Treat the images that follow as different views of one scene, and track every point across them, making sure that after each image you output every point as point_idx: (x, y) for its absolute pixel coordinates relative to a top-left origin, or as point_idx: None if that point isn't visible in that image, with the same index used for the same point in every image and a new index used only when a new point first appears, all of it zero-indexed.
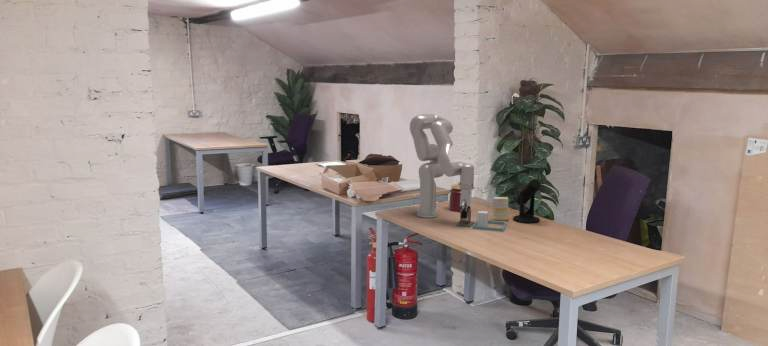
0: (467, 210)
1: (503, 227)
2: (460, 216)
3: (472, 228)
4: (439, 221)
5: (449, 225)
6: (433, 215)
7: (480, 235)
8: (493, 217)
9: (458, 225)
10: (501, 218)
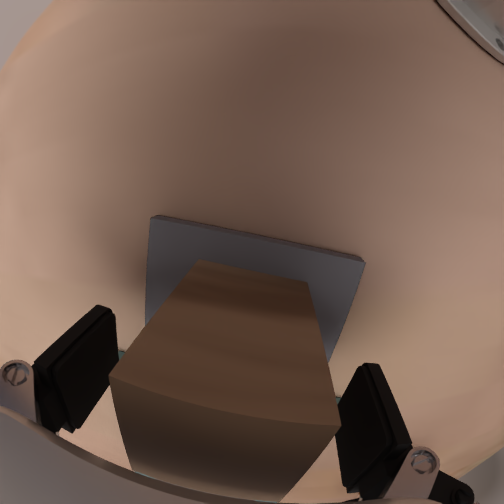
0: (130, 455)
1: None
2: (165, 302)
3: (118, 352)
4: (327, 25)
5: (166, 133)
6: (459, 5)
7: (27, 357)
8: None
9: (152, 238)
10: None
